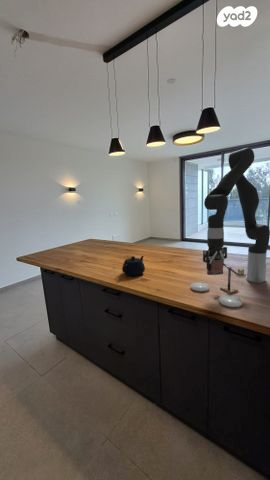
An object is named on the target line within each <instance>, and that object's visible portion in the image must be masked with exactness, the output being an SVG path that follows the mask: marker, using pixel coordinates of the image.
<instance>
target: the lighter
mask: <svg viewBox="0 0 270 480" xmlns="http://www.w3.org/2000/svg"><path fill="white" fill-rule="evenodd" d="M209 257H211V256H210V255H209ZM209 261H210V259H209ZM223 261H224V262H225V259H221V255H218V256H217V257H215V258H214V260H212V262H211V271H208V270H207V269H206V270H207V271H206V275H209V276H216V275H217V276H220V275H224V265H223Z"/></svg>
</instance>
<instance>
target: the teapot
mask: <svg viewBox="0 0 270 480" xmlns="http://www.w3.org/2000/svg"><path fill="white" fill-rule="evenodd" d="M121 270H122V272H123V274H124V275H126V276H129V277H137V276H141V275H143V273H144V272H145V270H146V267H145V264H144V255H142V256H141V257H140V258H138V257H136V256H133V255H132V256H130V258H126V259H125V260H124V261H123V264H122V268H121Z"/></svg>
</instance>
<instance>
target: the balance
mask: <svg viewBox="0 0 270 480" xmlns="http://www.w3.org/2000/svg"><path fill="white" fill-rule="evenodd" d="M223 267H225V268H227V270H228V271H227V272H228V273H227V274H228V275H227V285H223V286H220V287H219V288H220V290H221V291H223V292H225V293H228V294H230V295H231V294H235V293H237V292H239V290H238V289H237V288H235V287H232V286H231V276H232V275H231V274H232V273H234V274H235V276H236V277H238V278H247V274H245V269H243V268H238V269H237V271H235V270H234V269H233V268H232V267H231V266H228V265H227V264H226V263H224V265H223Z"/></svg>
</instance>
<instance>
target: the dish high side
mask: <svg viewBox="0 0 270 480" xmlns="http://www.w3.org/2000/svg"><path fill="white" fill-rule="evenodd" d="M190 289H191V290H192V291H197V292H206V291H209V290H210V285H209V284H207V283H204V282H193V283H191V284H190Z"/></svg>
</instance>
